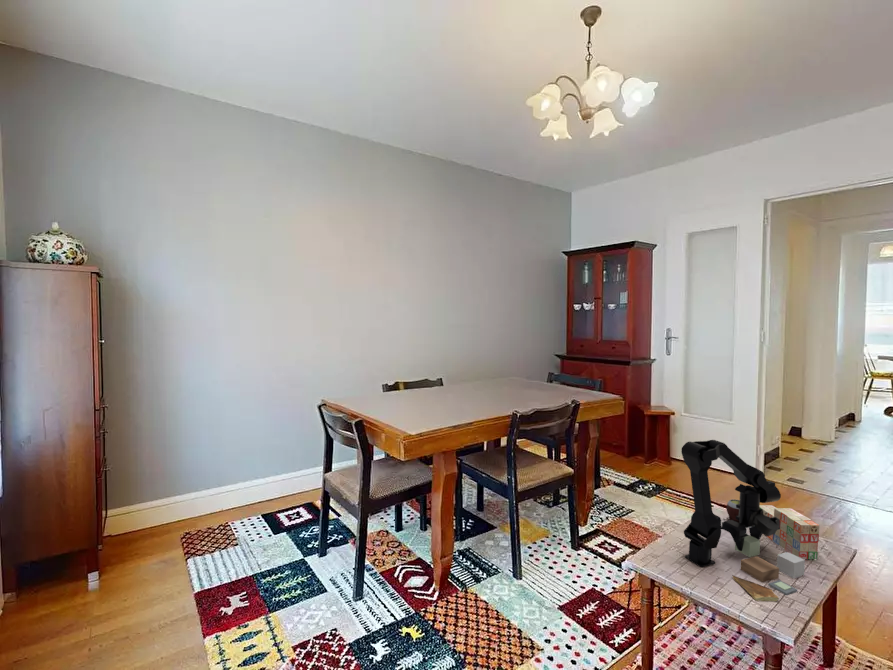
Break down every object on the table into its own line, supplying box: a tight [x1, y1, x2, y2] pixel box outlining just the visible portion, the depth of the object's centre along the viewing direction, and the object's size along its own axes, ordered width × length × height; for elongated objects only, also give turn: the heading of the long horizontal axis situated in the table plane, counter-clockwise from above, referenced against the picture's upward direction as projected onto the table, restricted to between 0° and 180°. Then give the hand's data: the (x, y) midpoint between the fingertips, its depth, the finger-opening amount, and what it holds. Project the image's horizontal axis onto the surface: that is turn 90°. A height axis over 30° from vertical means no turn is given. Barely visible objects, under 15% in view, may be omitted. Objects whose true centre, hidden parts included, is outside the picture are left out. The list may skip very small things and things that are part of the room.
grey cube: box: [776, 551, 806, 579], centre depth 140 cm, size 5×5×5 cm
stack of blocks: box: [760, 504, 820, 560], centre depth 157 cm, size 21×6×12 cm, turn 179°
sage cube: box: [734, 533, 761, 558], centre depth 152 cm, size 5×5×5 cm
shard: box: [732, 574, 779, 602], centre depth 131 cm, size 11×8×2 cm
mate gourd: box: [726, 499, 740, 523], centre depth 173 cm, size 8×8×15 cm
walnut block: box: [740, 555, 780, 583], centre depth 139 cm, size 7×7×4 cm
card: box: [768, 579, 798, 596], centre depth 132 cm, size 5×5×1 cm
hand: (747, 548), depth 152 cm, fingers open, 7 cm apart
